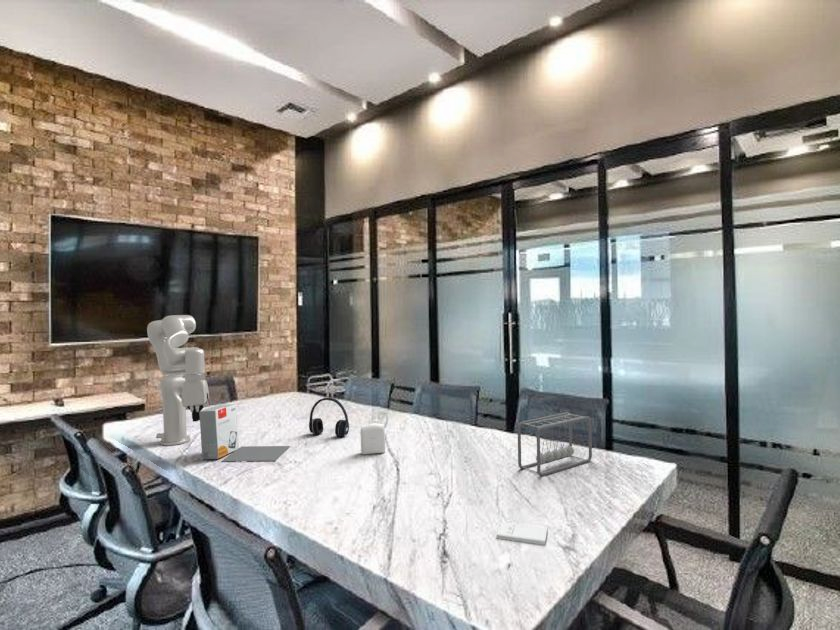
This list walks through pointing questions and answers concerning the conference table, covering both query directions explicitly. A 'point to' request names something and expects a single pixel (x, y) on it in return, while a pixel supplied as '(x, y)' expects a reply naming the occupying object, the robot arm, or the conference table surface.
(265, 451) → the rubber mat
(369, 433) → the photo printer
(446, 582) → the conference table surface
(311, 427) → the headphones
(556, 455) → the newton's cradle
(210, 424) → the hard drive box
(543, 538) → the external hard drive
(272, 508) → the conference table surface
